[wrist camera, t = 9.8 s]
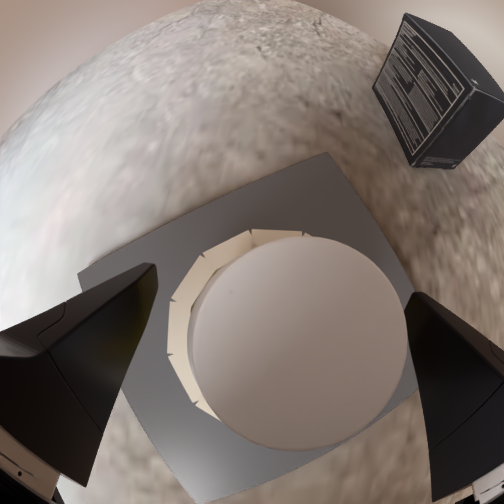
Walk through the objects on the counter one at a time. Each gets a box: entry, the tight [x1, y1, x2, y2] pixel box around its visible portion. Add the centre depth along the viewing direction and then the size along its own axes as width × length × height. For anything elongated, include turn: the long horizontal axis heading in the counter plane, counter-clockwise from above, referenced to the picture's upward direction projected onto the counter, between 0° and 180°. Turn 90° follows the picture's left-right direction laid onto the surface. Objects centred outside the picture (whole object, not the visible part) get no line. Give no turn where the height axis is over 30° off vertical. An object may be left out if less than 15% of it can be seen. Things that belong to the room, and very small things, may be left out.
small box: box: [372, 13, 504, 169], centre depth 17 cm, size 11×6×10 cm, turn 7°
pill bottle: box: [187, 236, 407, 452], centre depth 10 cm, size 6×6×11 cm
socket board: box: [77, 152, 418, 504], centre depth 14 cm, size 20×18×5 cm
